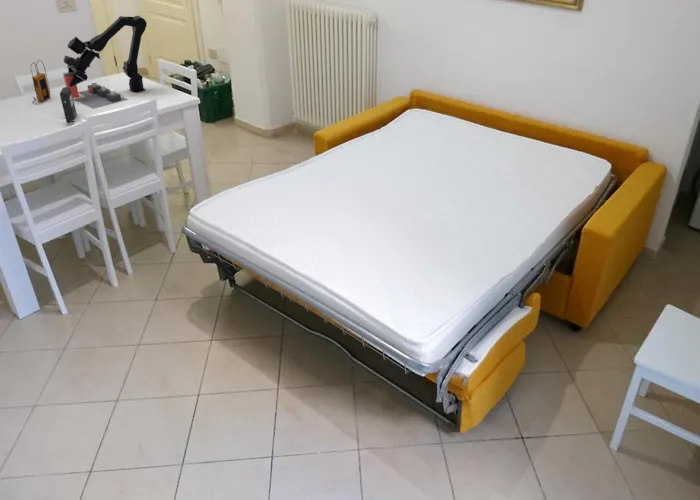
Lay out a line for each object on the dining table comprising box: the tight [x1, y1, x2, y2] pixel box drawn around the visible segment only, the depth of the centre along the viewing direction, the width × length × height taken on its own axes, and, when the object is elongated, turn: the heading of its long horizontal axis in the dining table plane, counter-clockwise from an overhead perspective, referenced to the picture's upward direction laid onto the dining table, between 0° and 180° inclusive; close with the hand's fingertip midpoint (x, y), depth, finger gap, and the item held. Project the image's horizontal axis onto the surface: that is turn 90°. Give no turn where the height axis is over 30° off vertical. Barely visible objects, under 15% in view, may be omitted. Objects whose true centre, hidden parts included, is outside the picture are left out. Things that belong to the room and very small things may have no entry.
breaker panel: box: [73, 81, 129, 110], centre depth 308 cm, size 22×28×6 cm
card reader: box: [59, 86, 78, 124], centre depth 282 cm, size 9×4×15 cm, turn 12°
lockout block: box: [62, 72, 79, 98], centre depth 305 cm, size 5×4×12 cm
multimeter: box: [30, 59, 51, 105], centre depth 303 cm, size 15×10×20 cm
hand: (67, 83), depth 304 cm, fingers open, 9 cm apart
